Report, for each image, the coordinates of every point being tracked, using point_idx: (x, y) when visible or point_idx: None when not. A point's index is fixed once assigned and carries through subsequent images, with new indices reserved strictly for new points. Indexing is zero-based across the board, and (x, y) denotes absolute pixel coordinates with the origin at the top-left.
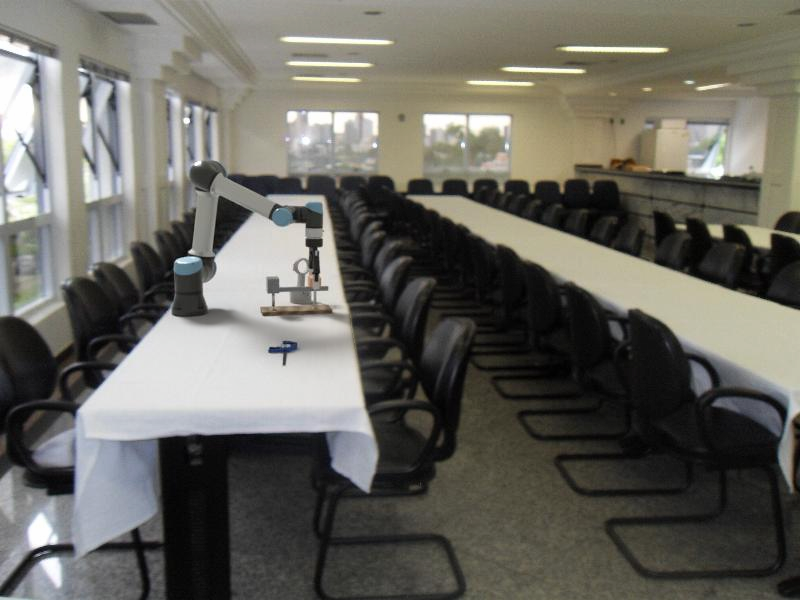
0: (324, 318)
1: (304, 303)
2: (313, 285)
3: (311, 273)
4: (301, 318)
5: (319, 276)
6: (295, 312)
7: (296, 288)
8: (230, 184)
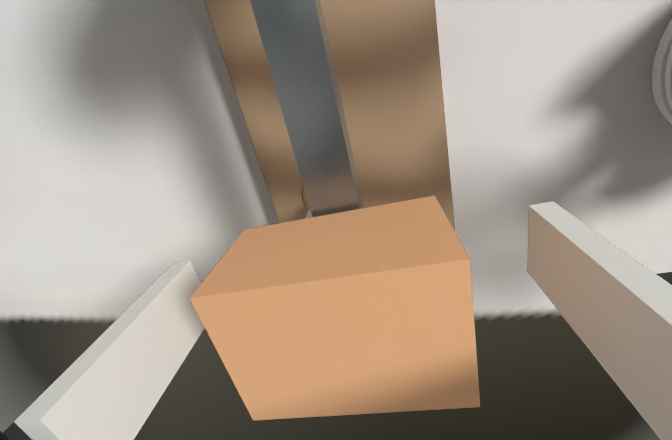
0: (176, 241)
1: (653, 88)
2: (152, 291)
3: (626, 333)
4: (139, 121)
5: (380, 410)
6: (230, 66)
7: (271, 56)
8: None
